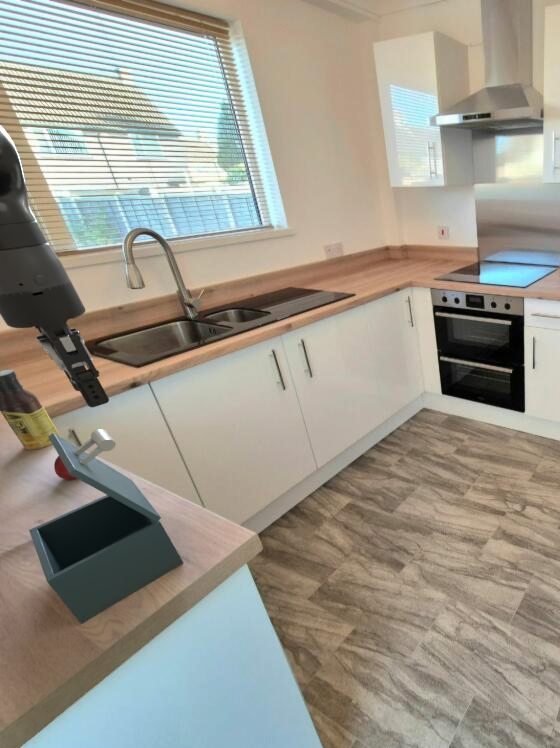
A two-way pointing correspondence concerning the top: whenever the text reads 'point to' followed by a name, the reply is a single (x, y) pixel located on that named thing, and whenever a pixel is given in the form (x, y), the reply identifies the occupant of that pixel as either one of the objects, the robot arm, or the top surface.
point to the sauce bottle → (24, 413)
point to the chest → (102, 555)
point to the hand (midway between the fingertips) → (92, 396)
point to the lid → (102, 471)
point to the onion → (62, 470)
